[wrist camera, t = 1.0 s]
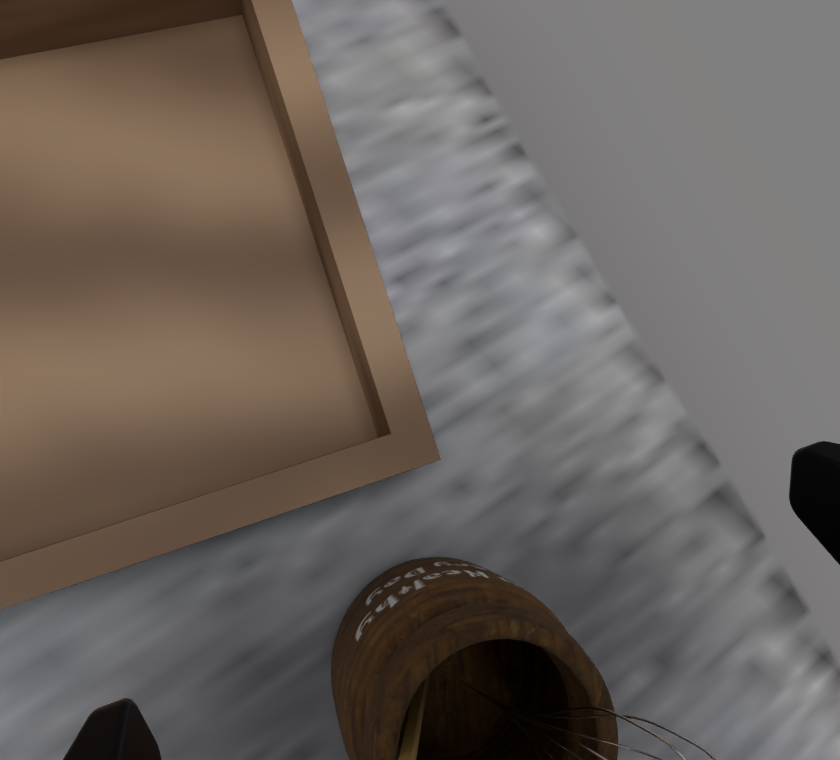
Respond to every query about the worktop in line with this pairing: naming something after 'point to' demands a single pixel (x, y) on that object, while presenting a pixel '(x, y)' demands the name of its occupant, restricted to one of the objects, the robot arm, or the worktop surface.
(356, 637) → the utensil holder
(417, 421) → the tray
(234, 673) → the worktop surface
